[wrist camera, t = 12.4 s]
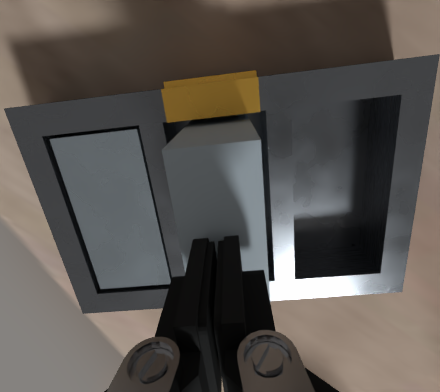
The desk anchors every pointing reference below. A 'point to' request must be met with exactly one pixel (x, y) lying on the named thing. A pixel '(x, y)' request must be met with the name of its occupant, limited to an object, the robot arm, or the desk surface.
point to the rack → (272, 178)
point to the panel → (219, 186)
